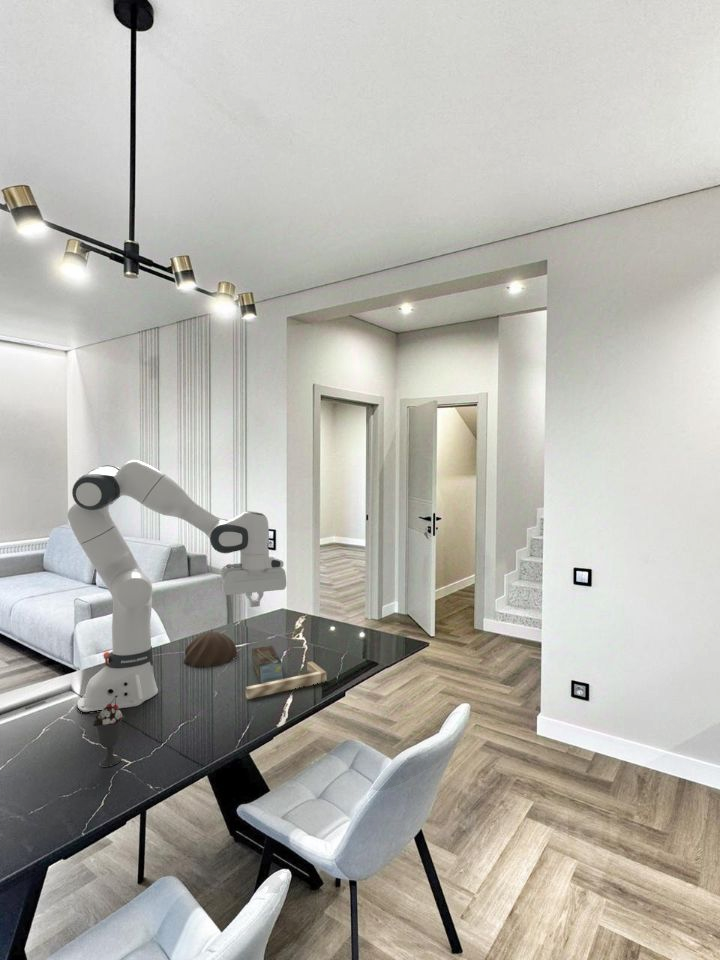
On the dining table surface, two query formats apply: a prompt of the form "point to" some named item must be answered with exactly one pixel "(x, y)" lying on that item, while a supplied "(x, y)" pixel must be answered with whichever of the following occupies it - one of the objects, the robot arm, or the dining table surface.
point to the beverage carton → (267, 664)
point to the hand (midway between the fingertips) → (254, 606)
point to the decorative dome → (210, 650)
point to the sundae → (109, 731)
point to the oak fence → (288, 682)
